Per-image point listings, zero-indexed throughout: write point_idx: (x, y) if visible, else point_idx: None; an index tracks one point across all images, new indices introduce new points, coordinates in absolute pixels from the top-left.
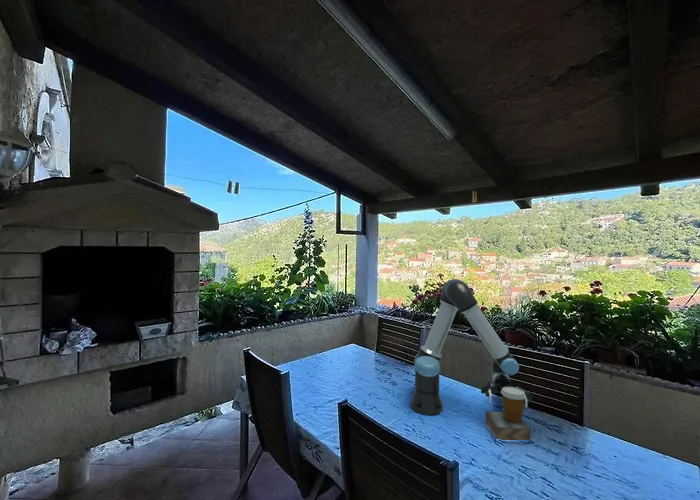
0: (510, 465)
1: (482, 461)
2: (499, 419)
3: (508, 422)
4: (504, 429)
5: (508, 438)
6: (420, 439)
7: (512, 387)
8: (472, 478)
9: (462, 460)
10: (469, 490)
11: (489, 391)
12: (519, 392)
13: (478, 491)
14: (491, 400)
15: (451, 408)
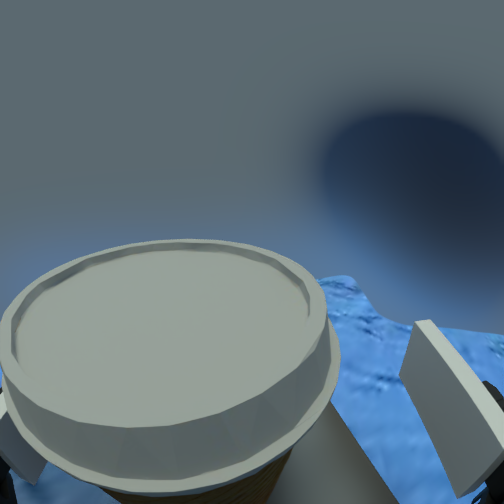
0: None
1: (343, 332)
2: (308, 464)
3: None
4: None
5: None
6: (497, 336)
7: (66, 401)
8: (349, 293)
9: (386, 320)
10: (346, 277)
11: (480, 388)
12: (85, 291)
13: (332, 279)
14: (403, 364)
15: None
